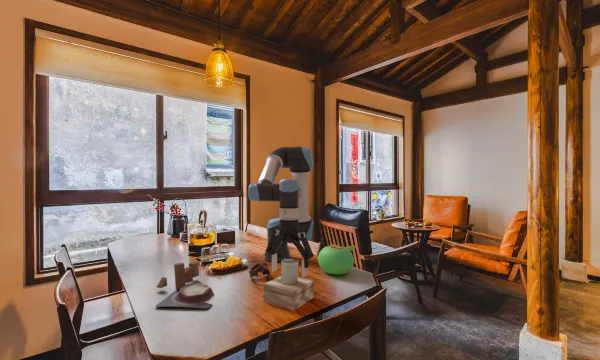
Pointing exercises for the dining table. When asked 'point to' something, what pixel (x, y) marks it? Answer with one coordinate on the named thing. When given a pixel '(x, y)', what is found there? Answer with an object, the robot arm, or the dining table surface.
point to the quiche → (189, 297)
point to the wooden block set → (182, 275)
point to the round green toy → (336, 259)
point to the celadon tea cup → (289, 271)
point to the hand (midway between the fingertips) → (288, 273)
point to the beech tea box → (288, 293)
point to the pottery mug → (260, 270)
